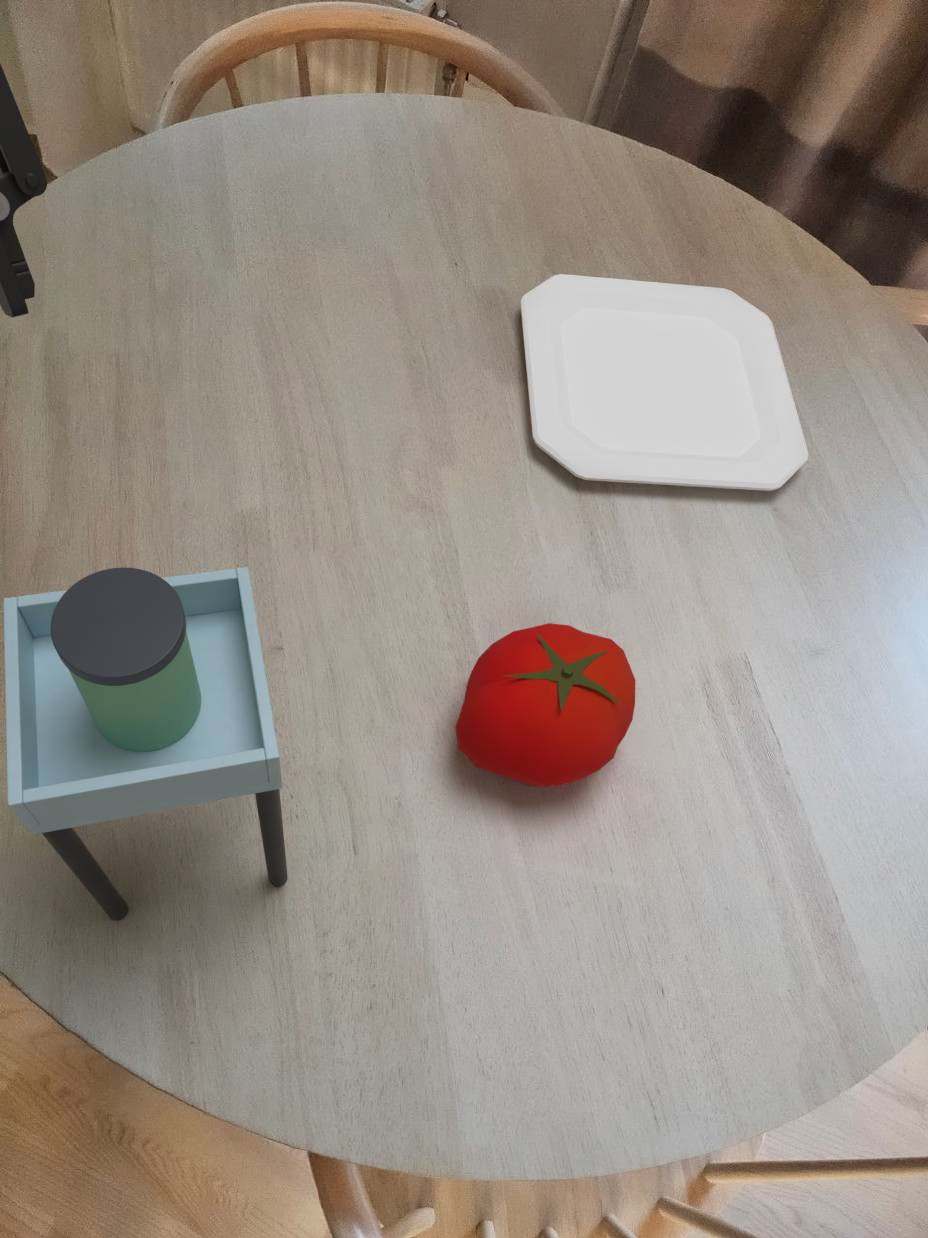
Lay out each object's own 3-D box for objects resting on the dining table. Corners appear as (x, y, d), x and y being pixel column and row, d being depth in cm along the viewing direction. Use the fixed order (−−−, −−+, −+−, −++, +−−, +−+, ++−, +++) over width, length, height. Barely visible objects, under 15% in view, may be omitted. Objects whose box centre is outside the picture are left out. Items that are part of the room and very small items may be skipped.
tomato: (418, 704, 68) (433, 635, 60) (565, 641, 73) (600, 568, 64) (492, 841, 64) (521, 788, 55) (644, 766, 68) (693, 706, 59)
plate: (532, 489, 80) (537, 472, 78) (514, 286, 92) (518, 267, 90) (809, 505, 83) (821, 489, 81) (756, 306, 95) (765, 289, 93)
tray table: (107, 925, 58) (6, 805, 39) (96, 770, 63) (2, 597, 44) (290, 886, 61) (279, 757, 42) (267, 740, 65) (248, 565, 46)
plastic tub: (93, 763, 44) (52, 687, 37) (87, 664, 46) (47, 575, 39) (209, 744, 45) (190, 666, 38) (197, 648, 47) (177, 559, 40)
